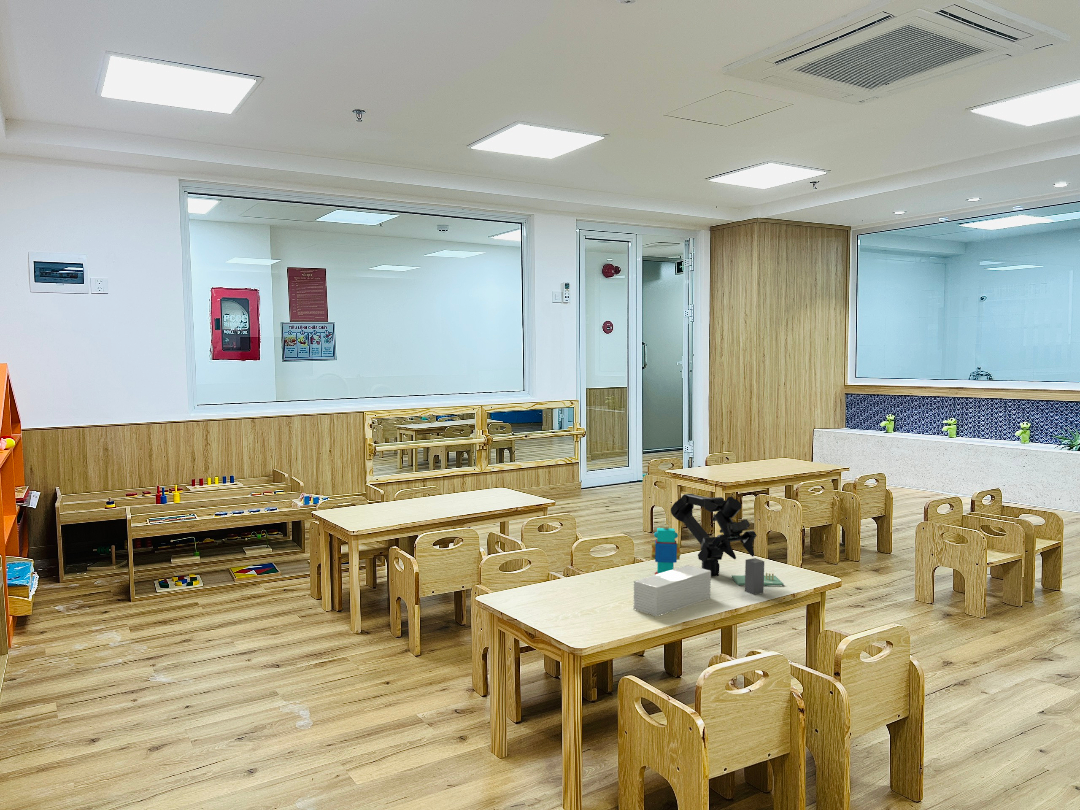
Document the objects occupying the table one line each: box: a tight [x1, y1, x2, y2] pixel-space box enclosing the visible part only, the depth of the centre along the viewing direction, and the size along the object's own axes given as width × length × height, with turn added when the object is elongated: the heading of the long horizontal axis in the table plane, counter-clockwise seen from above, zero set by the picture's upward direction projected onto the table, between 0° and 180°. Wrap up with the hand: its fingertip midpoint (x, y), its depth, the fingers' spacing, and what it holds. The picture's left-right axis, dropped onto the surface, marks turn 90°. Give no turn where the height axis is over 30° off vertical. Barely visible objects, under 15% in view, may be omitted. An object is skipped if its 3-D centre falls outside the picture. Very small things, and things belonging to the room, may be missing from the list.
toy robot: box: [650, 519, 681, 575], centre depth 321 cm, size 12×6×25 cm, turn 84°
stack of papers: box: [632, 564, 712, 617], centre depth 291 cm, size 32×11×11 cm, turn 132°
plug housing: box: [744, 557, 765, 596], centre depth 306 cm, size 5×5×12 cm
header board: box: [731, 572, 785, 586], centre depth 319 cm, size 18×11×4 cm, turn 90°
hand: (744, 557), depth 310 cm, fingers open, 9 cm apart
